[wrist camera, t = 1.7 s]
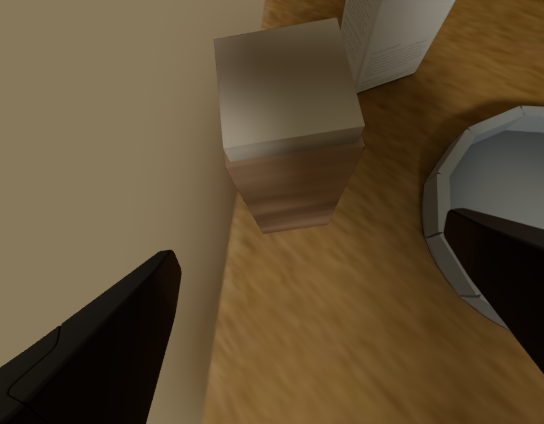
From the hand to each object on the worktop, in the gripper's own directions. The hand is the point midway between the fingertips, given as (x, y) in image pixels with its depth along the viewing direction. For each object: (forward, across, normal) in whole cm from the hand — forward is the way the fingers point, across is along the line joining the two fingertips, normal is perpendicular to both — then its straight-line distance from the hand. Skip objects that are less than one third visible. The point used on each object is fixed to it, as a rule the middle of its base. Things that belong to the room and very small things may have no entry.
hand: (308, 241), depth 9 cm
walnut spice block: (+12, 0, +4) cm, 13 cm away
